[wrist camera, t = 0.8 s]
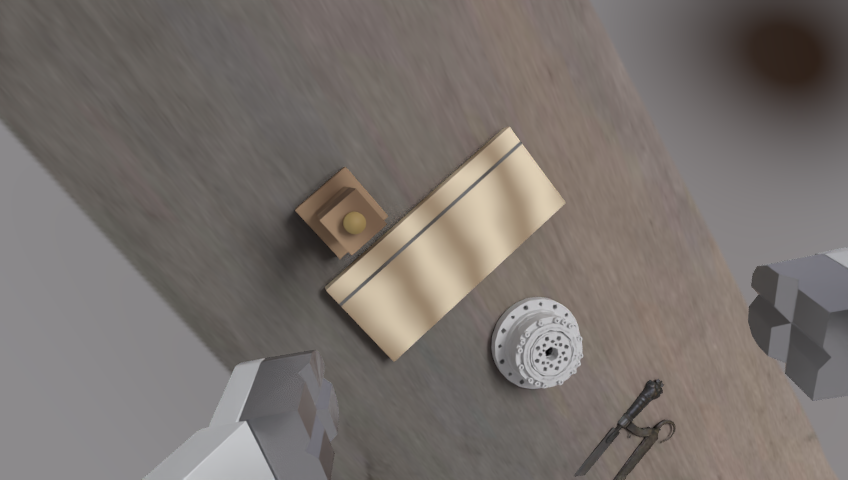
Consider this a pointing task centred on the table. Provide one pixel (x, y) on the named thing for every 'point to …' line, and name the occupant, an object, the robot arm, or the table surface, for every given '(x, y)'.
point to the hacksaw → (649, 433)
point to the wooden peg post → (343, 213)
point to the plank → (446, 244)
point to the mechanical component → (537, 343)
